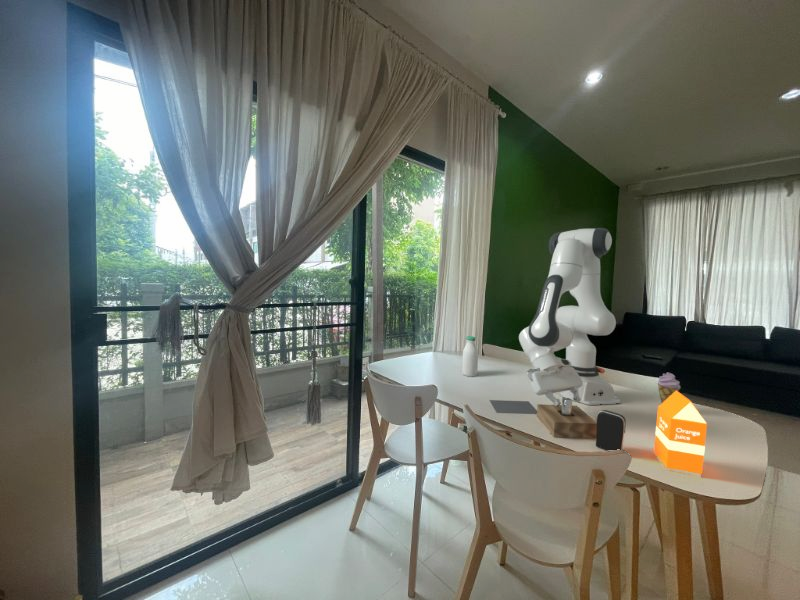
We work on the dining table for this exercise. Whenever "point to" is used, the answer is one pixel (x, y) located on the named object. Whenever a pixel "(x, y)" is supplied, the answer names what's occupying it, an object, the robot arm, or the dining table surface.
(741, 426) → the dining table surface
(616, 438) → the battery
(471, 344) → the milk bottle
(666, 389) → the ice cream cone
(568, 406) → the pin
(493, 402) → the mat
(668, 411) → the orange juice
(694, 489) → the dining table surface
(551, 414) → the socket block
